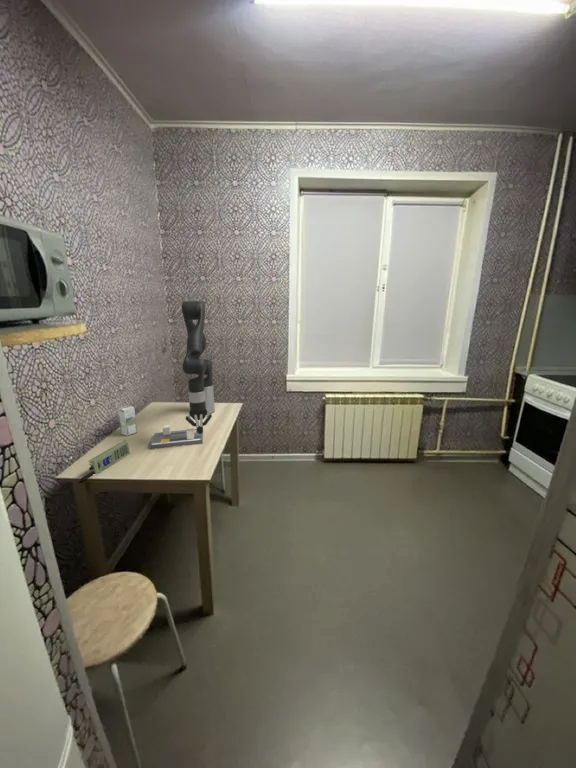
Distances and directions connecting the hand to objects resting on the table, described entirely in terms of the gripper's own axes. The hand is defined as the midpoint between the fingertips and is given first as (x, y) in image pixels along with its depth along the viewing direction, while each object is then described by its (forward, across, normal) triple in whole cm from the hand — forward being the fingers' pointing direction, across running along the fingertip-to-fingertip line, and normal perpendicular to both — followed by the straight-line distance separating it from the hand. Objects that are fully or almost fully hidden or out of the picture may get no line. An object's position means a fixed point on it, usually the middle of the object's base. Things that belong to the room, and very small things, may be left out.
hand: (200, 433), depth 156 cm
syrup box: (+4, +37, -20) cm, 42 cm away
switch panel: (+4, +11, -4) cm, 12 cm away
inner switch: (+2, +16, -8) cm, 18 cm away
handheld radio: (+4, +38, +16) cm, 41 cm away
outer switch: (+2, +5, 0) cm, 5 cm away
